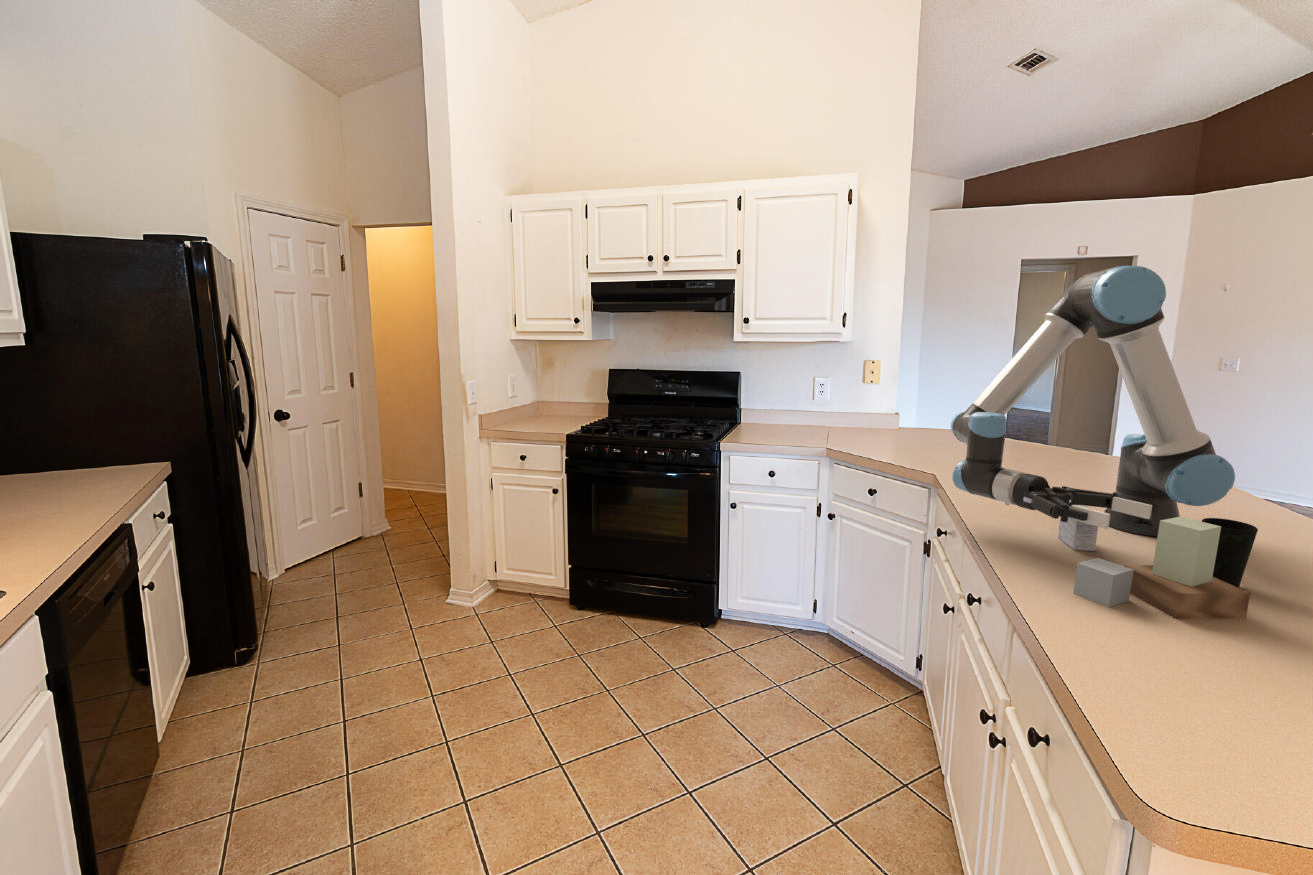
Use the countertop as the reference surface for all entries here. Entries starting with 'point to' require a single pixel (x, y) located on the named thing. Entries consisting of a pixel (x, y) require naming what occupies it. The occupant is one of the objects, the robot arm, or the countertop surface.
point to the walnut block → (1189, 596)
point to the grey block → (1103, 582)
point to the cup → (1232, 549)
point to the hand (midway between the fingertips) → (1130, 516)
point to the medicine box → (1078, 534)
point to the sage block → (1186, 550)
